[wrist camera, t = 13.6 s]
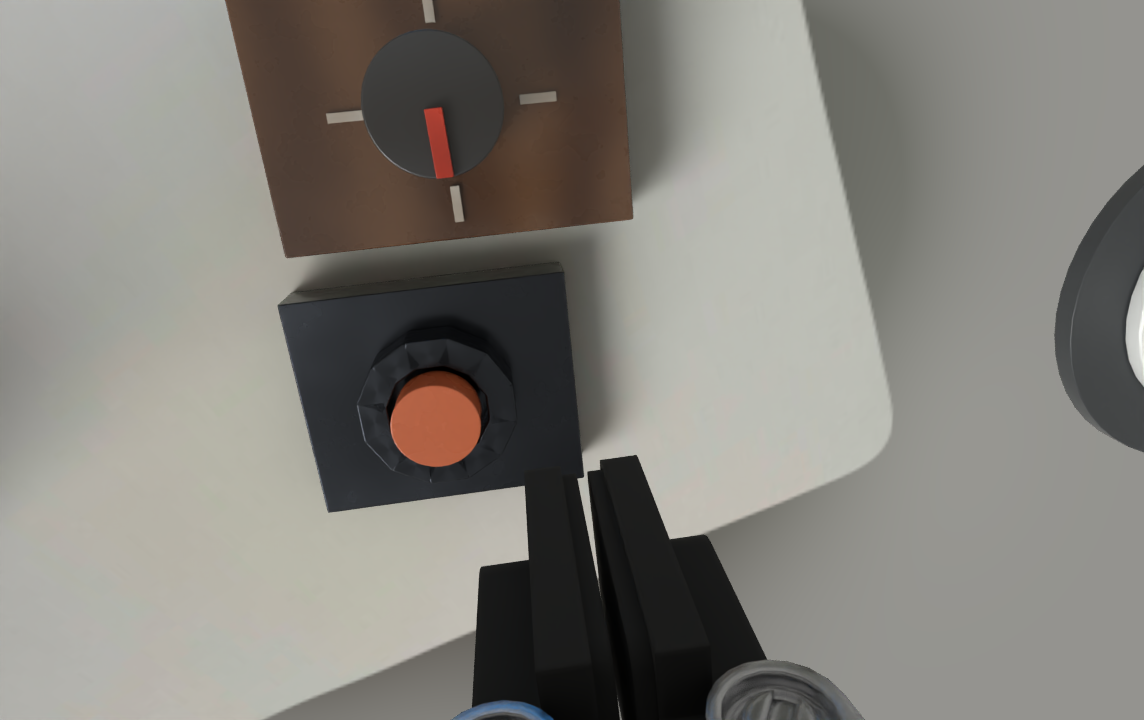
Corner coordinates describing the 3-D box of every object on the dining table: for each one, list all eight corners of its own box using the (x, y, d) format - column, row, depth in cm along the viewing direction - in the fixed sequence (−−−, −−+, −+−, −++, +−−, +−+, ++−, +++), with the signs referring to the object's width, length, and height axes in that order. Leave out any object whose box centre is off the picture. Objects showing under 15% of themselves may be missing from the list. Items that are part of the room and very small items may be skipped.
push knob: (475, 365, 30) (474, 380, 28) (486, 442, 31) (486, 460, 29) (388, 376, 29) (382, 391, 28) (403, 453, 31) (398, 472, 29)
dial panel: (603, -42, 28) (617, -60, 25) (621, 210, 32) (634, 220, 29) (246, -12, 27) (216, -27, 24) (303, 245, 31) (283, 259, 28)
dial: (371, 51, 26) (343, 37, 21) (491, 36, 26) (492, 19, 21) (396, 174, 27) (376, 188, 22) (509, 159, 28) (514, 170, 23)
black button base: (559, 261, 32) (568, 281, 28) (578, 456, 36) (589, 497, 32) (290, 292, 31) (263, 317, 28) (337, 489, 35) (318, 535, 31)
